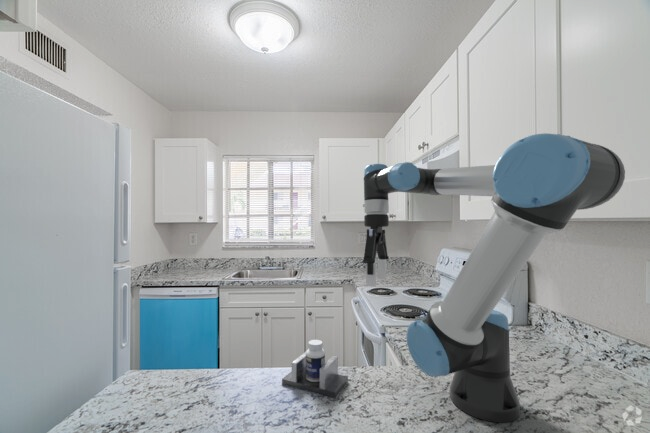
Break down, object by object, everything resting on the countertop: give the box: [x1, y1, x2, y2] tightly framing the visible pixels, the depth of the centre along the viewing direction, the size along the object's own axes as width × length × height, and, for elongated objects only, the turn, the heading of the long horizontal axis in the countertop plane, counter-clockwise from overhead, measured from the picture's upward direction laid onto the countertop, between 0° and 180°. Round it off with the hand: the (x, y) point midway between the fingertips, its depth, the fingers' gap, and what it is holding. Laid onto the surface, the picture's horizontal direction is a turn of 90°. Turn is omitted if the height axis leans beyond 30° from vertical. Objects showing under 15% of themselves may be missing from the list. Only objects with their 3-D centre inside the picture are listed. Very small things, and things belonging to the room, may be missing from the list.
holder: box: [281, 351, 349, 399], centre depth 81 cm, size 16×9×6 cm, turn 65°
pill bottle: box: [305, 339, 326, 382], centre depth 81 cm, size 5×5×10 cm
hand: (376, 282), depth 90 cm, fingers open, 13 cm apart
